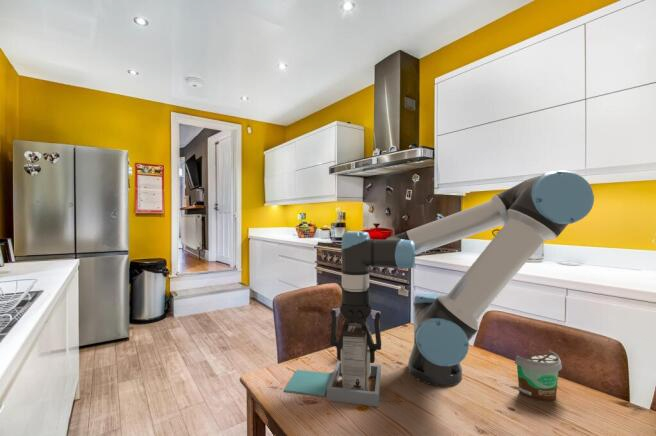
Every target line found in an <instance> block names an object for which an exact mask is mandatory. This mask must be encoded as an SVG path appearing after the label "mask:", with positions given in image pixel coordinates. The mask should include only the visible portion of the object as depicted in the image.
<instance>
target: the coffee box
mask: <svg viewBox="0 0 656 436" xmlns="http://www.w3.org/2000/svg"><path fill="white" fill-rule="evenodd" d="M367 350H368V343H367V332H366V331H363V328H362V327H361V324H357V323H349V326H348V328H347V330H344V331H343V333H342V374H341V376H342V378H341V379H342V381H341V382H342V383H341V384H342V385H341V386H342V387H341V388H346V389H355V390H363V391H368V384H369V377H368V376H367Z"/></svg>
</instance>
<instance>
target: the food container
mask: <svg viewBox="0 0 656 436" xmlns="http://www.w3.org/2000/svg"><path fill="white" fill-rule="evenodd" d="M514 364H515V365H516V369H517V370H516V371H517V383H518V393H519V394H521V395H522V396H524V397H526V398H529V399H532V400H536V401H541V402H552V401H555V400H556V398H557V391H558V380H559V371H561V370H562V369H563V365H562V360H561V359H560V356H559V355H558V354H557V353H555V352H554V351H552V350H550V349H549V350H548V353H546V354H532V355H528V356H526V357H521V356H519V355H516V356H515V359H514Z"/></svg>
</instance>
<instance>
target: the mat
mask: <svg viewBox="0 0 656 436" xmlns="http://www.w3.org/2000/svg"><path fill="white" fill-rule="evenodd" d="M332 374H333V372H332V373H331V372H324V371H323V372H321V371H314V370H313V371H311V370H304V369H296V371H294V373H293V375H292V377H291V378H290V380H289V381H288V384H287V385H286V386H285V388H284V390H283V392H284V393H294V394H301V395H302V394H303V395H310V396H318V397H319V396H320V397H325V396H326V394H327V387H328V384H329V382H330V379H331V376H332Z"/></svg>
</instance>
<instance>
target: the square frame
mask: <svg viewBox="0 0 656 436" xmlns="http://www.w3.org/2000/svg"><path fill="white" fill-rule="evenodd" d="M332 371H333V372H332V373H333V374H332V376H331V379H330V382H329V384H328V387H327V391H326V401H328V402H336V403H347V404H353V405H362V406H369V407H377V408H379V407H380V395H381V394H380V393H381V384H382V365H380V364H374V363H371V373H370V377H373V378H374V377H376V378H375V385H374V387H375V388H374V391H372V390H371V391H370V390H367V391H363V390H355V389H346V388H342V387H337V383H338V380H339V378H340V374H341V360H337V361H336V364H335V366H334V369H333V370H332Z"/></svg>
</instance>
